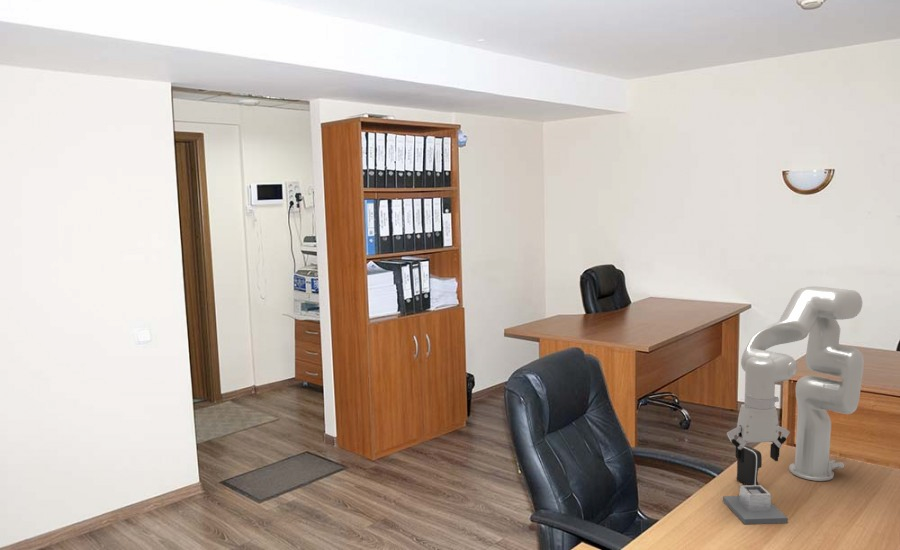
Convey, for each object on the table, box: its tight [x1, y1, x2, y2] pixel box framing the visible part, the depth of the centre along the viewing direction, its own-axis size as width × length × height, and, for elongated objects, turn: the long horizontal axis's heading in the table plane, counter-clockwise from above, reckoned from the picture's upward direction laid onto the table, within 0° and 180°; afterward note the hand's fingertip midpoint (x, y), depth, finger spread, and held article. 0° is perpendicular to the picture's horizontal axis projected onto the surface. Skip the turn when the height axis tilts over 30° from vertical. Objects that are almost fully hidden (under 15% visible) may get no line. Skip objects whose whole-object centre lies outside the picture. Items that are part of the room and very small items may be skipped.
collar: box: [739, 484, 772, 512], centre depth 194 cm, size 6×6×5 cm
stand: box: [722, 490, 789, 525], centre depth 194 cm, size 12×14×6 cm
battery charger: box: [736, 445, 763, 485], centre depth 212 cm, size 7×4×11 cm, turn 23°
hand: (757, 460), depth 193 cm, fingers open, 9 cm apart
